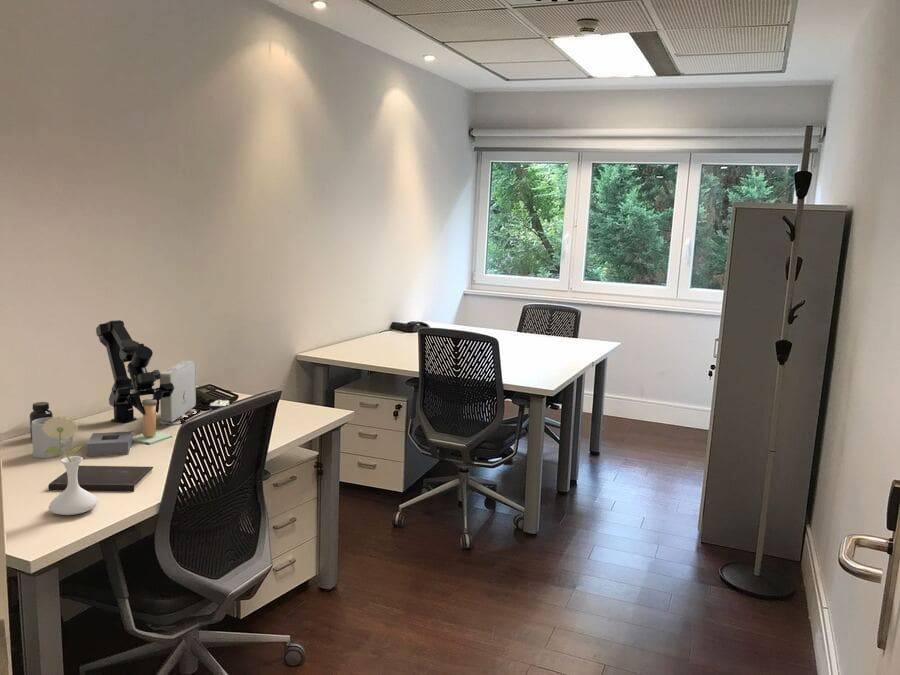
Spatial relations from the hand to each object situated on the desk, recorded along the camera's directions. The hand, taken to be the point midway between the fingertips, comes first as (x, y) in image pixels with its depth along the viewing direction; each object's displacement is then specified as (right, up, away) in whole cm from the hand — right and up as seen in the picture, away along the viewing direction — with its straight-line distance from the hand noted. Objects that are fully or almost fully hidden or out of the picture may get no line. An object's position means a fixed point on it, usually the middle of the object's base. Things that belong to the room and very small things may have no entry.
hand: (151, 413), depth 247 cm
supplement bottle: (-36, -8, -1) cm, 37 cm away
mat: (-1, -9, +2) cm, 9 cm away
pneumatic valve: (+19, -8, +12) cm, 24 cm away
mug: (-24, -11, -17) cm, 31 cm away
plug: (-1, -8, +2) cm, 8 cm away
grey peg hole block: (-9, -11, -11) cm, 17 cm away
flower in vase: (+4, -19, -60) cm, 63 cm away
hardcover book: (+2, -16, -38) cm, 42 cm away
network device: (-1, -5, +29) cm, 29 cm away
